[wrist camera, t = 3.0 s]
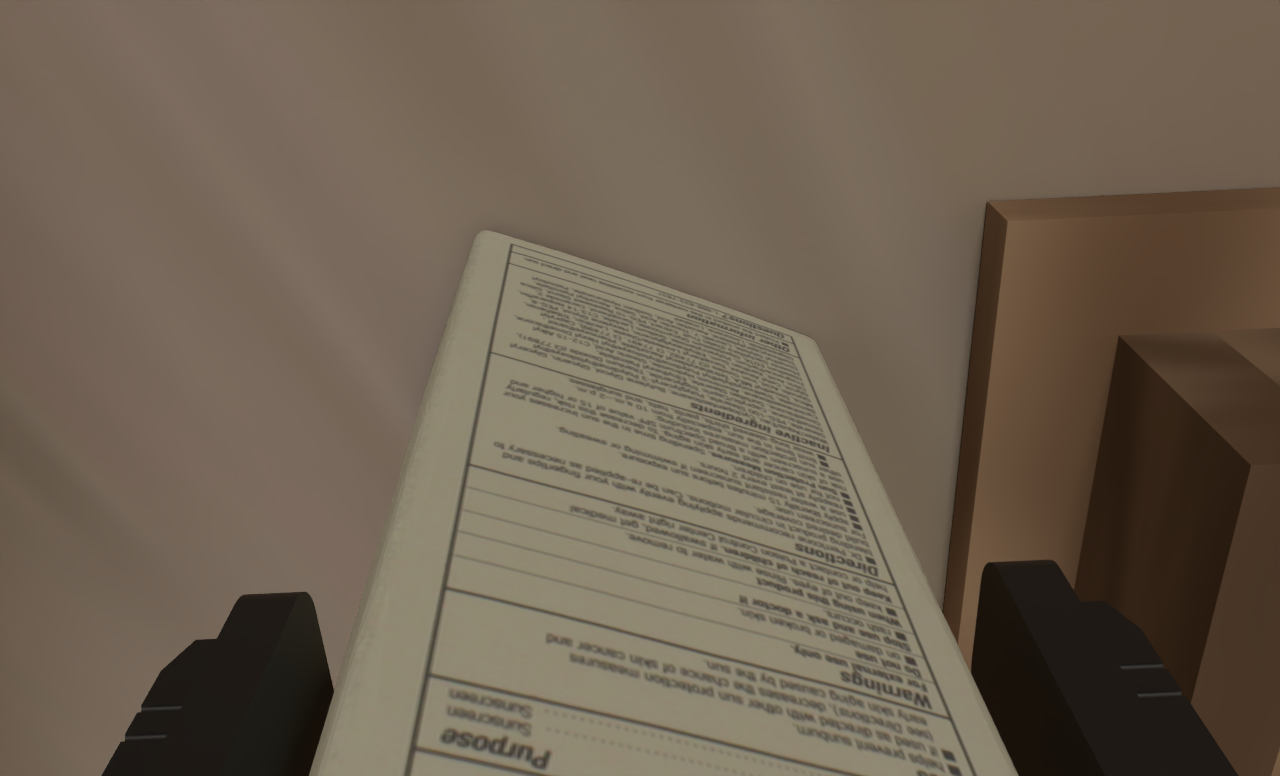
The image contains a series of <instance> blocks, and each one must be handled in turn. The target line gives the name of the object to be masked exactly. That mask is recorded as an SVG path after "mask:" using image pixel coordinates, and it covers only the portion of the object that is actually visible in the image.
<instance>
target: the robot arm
mask: <svg viewBox="0 0 1280 776" xmlns="http://www.w3.org/2000/svg"><path fill="white" fill-rule="evenodd" d="M971 675H972V677H973V679H974V681H975V683H976V685H977V687H978V689H979V692H980V694H981V696H982V698H983V700H984V702H985V704H986V707H987V709H988V711H989V713H990V715H991V717H992V719H993V722H994V724H995V726H996V728H997V730H998V732H999V735H1000V737H1001V739H1002V741H1003V743H1004V745H1005V747H1006V750H1007V752H1008V754H1009V756H1010V758H1011V760H1012V763H1013V765H1014V767H1015V769H1016V771H1017V773H1018V776H1238V774H1237V773H1236V771H1235V770H1234V768H1233V767H1232V765H1231V764H1230V762H1229V760H1228V759H1227V757H1226V756H1225V754H1224V753H1223V751H1222V750H1221V748H1220V747H1219V745H1218V744H1217V742H1216V741H1215V739H1214V738H1213V736H1212V735H1211V733H1210V732H1209V730H1208V729H1207V727H1206V726H1205V724H1204V723H1203V721H1202V720H1201V718H1200V717H1199V715H1198V714H1197V712H1196V711H1195V709H1194V708H1193V706H1192V705H1191V703H1190V702H1189V700H1188V699H1187V697H1183V696H1182V693H1181V688H1180V687H1179V685H1178V684H1177V682H1176V681H1175V679H1174V678H1173V676H1172V675H1171V673H1170V672H1169V670H1168V669H1164V667H1163V661H1162V660H1161V658H1160V657H1159V655H1158V654H1157V652H1156V651H1155V649H1154V648H1153V646H1152V645H1151V643H1150V642H1149V640H1148V639H1147V637H1146V636H1145V634H1144V633H1143V631H1142V630H1141V628H1139V627H1138V626H1137V625H1135V624H1134V623H1133V622H1131V621H1130V620H1129V619H1127V618H1126V617H1125V616H1123V615H1122V614H1121V613H1119V612H1118V611H1117V610H1115V609H1114V608H1113V607H1112V606H1110V605H1109V604H1108V603H1106V602H1105V601H1082V602H1080V600H1079V598H1078V597H1077V595H1076V593H1075V592H1074V590H1073V588H1072V587H1071V585H1070V583H1069V582H1068V580H1067V579H1066V577H1065V575H1064V574H1063V572H1062V570H1061V569H1060V567H1059V566H1058V564H1057V563H1056V562H1055V561H1053V560H1027V561H1005V562H988V563H987V564H986V565H985V566H984V569H983V572H982V577H981V584H980V592H979V601H978V609H977V618H976V627H975V635H974V644H973V652H972V661H971ZM333 694H334V689H333V685H332V680H331V676H330V671H329V667H328V663H327V658H326V654H325V650H324V645H323V641H322V636H321V632H320V628H319V623H318V619H317V614H316V610H315V606H314V603H313V600H312V598H311V596H310V595H309V594H308V593H307V592H291V593H269V594H248V595H242V596H241V597H240V598H239V599H238V600H237V602H236V603H235V605H234V607H233V609H232V611H231V613H230V615H229V617H228V618H227V620H226V622H225V624H224V626H223V628H222V630H221V632H220V634H219V636H218V638H217V639H205V640H195V641H194V642H193V643H192V644H191V645H190V646H188V647H187V648H186V649H185V650H184V651H183V652H182V653H181V654H179V655H178V656H177V657H176V658H175V659H174V660H173V661H172V662H171V663H169V664H168V665H167V666H166V667H165V668H164V669H163V670H162V671H161V672H160V674H159V675H158V677H157V679H156V681H155V682H154V684H153V686H152V688H151V689H150V691H149V693H148V695H147V697H146V698H145V700H144V702H143V704H142V705H141V707H142V710H141V713H137V714H136V716H135V718H134V719H133V721H132V723H131V725H130V726H129V728H128V730H127V732H126V734H125V741H124V742H120V744H119V746H118V748H117V749H116V751H115V753H114V755H113V756H112V758H111V760H110V762H109V763H108V765H107V767H106V769H105V771H104V772H103V774H102V776H309V773H310V770H311V767H312V764H313V760H314V757H315V754H316V750H317V747H318V744H319V741H320V737H321V734H322V731H323V727H324V724H325V721H326V717H327V714H328V711H329V707H330V704H331V701H332V697H333Z"/></svg>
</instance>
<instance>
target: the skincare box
mask: <svg viewBox="0 0 1280 776" xmlns="http://www.w3.org/2000/svg"><path fill="white" fill-rule="evenodd" d="M309 776H1018V773H1017V771H1016V769H1015V767H1014V765H1013V763H1012V760H1011V758H1010V756H1009V754H1008V752H1007V750H1006V747H1005V745H1004V743H1003V741H1002V739H1001V737H1000V735H999V732H998V730H997V728H996V726H995V724H994V722H993V719H992V717H991V715H990V713H989V711H988V709H987V707H986V704H985V702H984V700H983V698H982V696H981V694H980V692H979V689H978V687H977V685H976V683H975V681H974V679H973V677H972V675H971V672H970V670H969V668H968V666H967V664H966V662H965V660H964V658H963V655H962V653H961V651H960V648H959V646H958V644H957V641H956V639H955V637H954V635H953V633H952V631H951V629H950V627H949V625H948V623H947V621H946V619H945V617H944V615H943V613H942V611H941V609H940V607H939V605H938V602H937V600H936V598H935V595H934V593H933V591H932V589H931V586H930V584H929V582H928V580H927V578H926V576H925V573H924V571H923V569H922V567H921V565H920V563H919V560H918V558H917V556H916V554H915V552H914V550H913V548H912V546H911V544H910V542H909V540H908V538H907V536H906V534H905V531H904V529H903V527H902V525H901V523H900V521H899V519H898V517H897V515H896V513H895V510H894V508H893V506H892V504H891V502H890V500H889V497H888V495H887V493H886V491H885V489H884V487H883V484H882V482H881V480H880V478H879V476H878V473H877V471H876V469H875V467H874V465H873V463H872V461H871V459H870V457H869V454H868V452H867V450H866V448H865V446H864V443H863V441H862V439H861V437H860V435H859V433H858V430H857V428H856V426H855V424H854V422H853V420H852V418H851V416H850V413H849V411H848V409H847V407H846V405H845V403H844V401H843V398H842V396H841V394H840V392H839V390H838V388H837V386H836V384H835V382H834V379H833V377H832V375H831V373H830V371H829V369H828V367H827V365H826V362H825V360H824V358H823V356H822V354H821V352H820V350H819V348H818V346H817V344H816V342H815V341H814V340H813V339H811V338H809V337H807V336H805V335H802V334H799V333H796V332H794V331H791V330H788V329H786V328H783V327H780V326H777V325H774V324H771V323H768V322H765V321H763V320H760V319H758V318H755V317H752V316H750V315H747V314H744V313H741V312H738V311H736V310H733V309H730V308H727V307H724V306H721V305H718V304H715V303H712V302H709V301H706V300H704V299H701V298H698V297H695V296H692V295H688V294H685V293H682V292H679V291H677V290H674V289H671V288H668V287H665V286H662V285H659V284H656V283H653V282H650V281H647V280H644V279H641V278H638V277H635V276H632V275H629V274H626V273H623V272H620V271H617V270H614V269H611V268H608V267H605V266H602V265H599V264H596V263H593V262H590V261H587V260H584V259H581V258H578V257H575V256H572V255H569V254H566V253H563V252H560V251H556V250H553V249H549V248H546V247H543V246H539V245H536V244H533V243H529V242H526V241H523V240H520V239H516V238H513V237H510V236H507V235H504V234H500V233H496V232H492V231H487V230H484V231H481V232H479V233H478V234H477V235H476V238H475V240H474V243H473V245H472V248H471V251H470V254H469V257H468V260H467V263H466V266H465V269H464V272H463V275H462V278H461V281H460V284H459V287H458V290H457V293H456V296H455V299H454V302H453V305H452V308H451V311H450V314H449V317H448V320H447V324H446V327H445V330H444V334H443V337H442V340H441V343H440V346H439V349H438V352H437V356H436V359H435V362H434V365H433V368H432V371H431V374H430V377H429V380H428V383H427V387H426V390H425V393H424V396H423V399H422V402H421V405H420V408H419V412H418V415H417V418H416V422H415V425H414V428H413V432H412V435H411V439H410V442H409V445H408V449H407V452H406V455H405V459H404V462H403V465H402V469H401V472H400V476H399V479H398V482H397V486H396V489H395V492H394V496H393V499H392V502H391V506H390V509H389V512H388V515H387V518H386V521H385V525H384V528H383V531H382V534H381V537H380V540H379V544H378V547H377V550H376V553H375V556H374V560H373V563H372V566H371V569H370V573H369V576H368V579H367V583H366V586H365V589H364V593H363V596H362V599H361V603H360V606H359V610H358V613H357V616H356V620H355V623H354V626H353V630H352V633H351V637H350V640H349V643H348V647H347V650H346V653H345V657H344V660H343V664H342V667H341V670H340V674H339V677H338V680H337V684H336V687H335V690H334V694H333V697H332V701H331V704H330V707H329V711H328V714H327V717H326V721H325V724H324V727H323V731H322V734H321V737H320V741H319V744H318V747H317V750H316V754H315V757H314V760H313V764H312V767H311V770H310V773H309Z"/></svg>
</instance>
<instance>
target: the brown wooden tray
mask: <svg viewBox="0 0 1280 776" xmlns="http://www.w3.org/2000/svg"><path fill="white" fill-rule="evenodd" d="M1027 560H1053V561H1055V562H1056V563H1057V564H1058V566H1059V567H1060V569H1061V570H1062V572H1063V574H1064V575H1065V577H1066V579H1067V580H1068V582H1069V583H1070V585H1071V587H1072V588H1073V590H1074V592H1075V593H1076V595H1077V597H1078V598H1079V600H1080V602H1082V601H1105V602H1106V603H1108V604H1109V605H1110V606H1112V607H1113V608H1114V609H1115V610H1117V611H1118V612H1119V613H1121V614H1122V615H1123V616H1125V617H1126V618H1127V619H1129V620H1130V621H1131V622H1133V623H1134V624H1135V625H1137V626H1138V627H1139V628H1141V630H1142V631H1143V633H1144V634H1145V636H1146V637H1147V639H1148V640H1149V642H1150V643H1151V645H1152V646H1153V648H1154V649H1155V651H1156V652H1157V654H1158V655H1159V657H1160V658H1161V660H1162V661H1163V667H1164V669H1168V670H1169V672H1170V673H1171V675H1172V676H1173V678H1174V679H1175V681H1176V682H1177V684H1178V685H1179V687H1180V688H1181V693H1182V696H1183V697H1187V699H1188V700H1189V702H1190V703H1191V705H1192V706H1193V708H1194V709H1195V711H1196V712H1197V714H1198V715H1199V717H1200V718H1201V720H1202V721H1203V723H1204V724H1205V726H1206V727H1207V729H1208V730H1209V732H1210V733H1211V735H1212V736H1213V738H1214V739H1215V741H1216V742H1217V744H1218V745H1219V747H1220V748H1221V750H1222V751H1223V753H1224V754H1225V756H1226V757H1227V759H1228V760H1229V762H1230V764H1231V765H1232V767H1233V768H1234V770H1235V771H1236V773H1237V774H1238V776H1280V187H1279V188H1258V189H1237V190H1216V191H1195V192H1174V193H1154V194H1133V195H1112V196H1091V197H1070V198H1049V199H1028V200H1007V201H987V210H986V219H985V229H984V238H983V247H982V256H981V266H980V275H979V284H978V293H977V303H976V312H975V321H974V330H973V340H972V349H971V358H970V367H969V377H968V386H967V395H966V404H965V414H964V423H963V432H962V441H961V451H960V460H959V469H958V478H957V488H956V497H955V506H954V515H953V525H952V534H951V543H950V552H949V561H948V571H947V580H946V589H945V598H944V608H943V615H944V617H945V619H946V621H947V623H948V625H949V627H950V629H951V631H952V633H953V635H954V637H955V639H956V641H957V644H958V646H959V648H960V651H961V653H962V655H963V658H964V660H965V662H966V664H967V666H968V668H969V670H970V672H971V661H972V652H973V644H974V635H975V627H976V618H977V609H978V601H979V592H980V584H981V577H982V572H983V569H984V566H985V565H986V564H987V563H988V562H1005V561H1027Z"/></svg>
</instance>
